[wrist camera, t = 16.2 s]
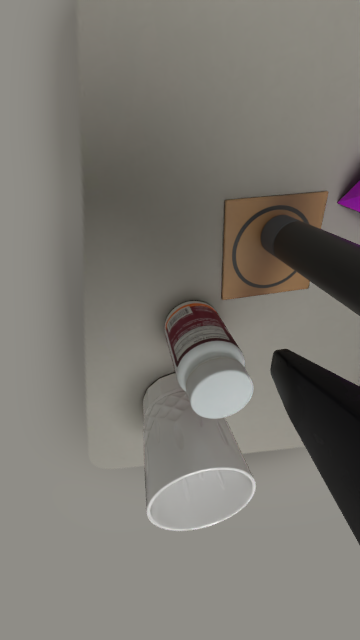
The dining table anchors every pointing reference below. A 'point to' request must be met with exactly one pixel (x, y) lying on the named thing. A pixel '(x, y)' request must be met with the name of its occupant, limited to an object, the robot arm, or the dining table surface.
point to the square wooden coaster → (246, 248)
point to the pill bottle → (207, 361)
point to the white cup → (190, 463)
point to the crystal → (352, 198)
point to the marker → (316, 257)
